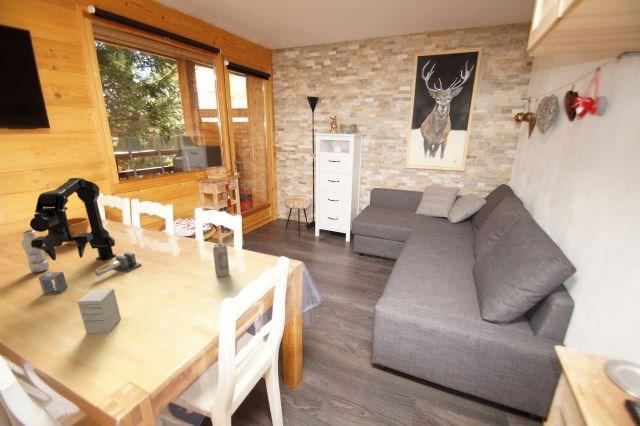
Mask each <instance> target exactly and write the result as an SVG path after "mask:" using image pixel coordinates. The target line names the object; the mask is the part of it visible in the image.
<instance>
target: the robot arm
mask: <svg viewBox="0 0 640 426" xmlns="http://www.w3.org/2000/svg"><path fill="white" fill-rule="evenodd" d="M74 193H76V195H77V197H78V199H79V200H80V201H82V202H83V204H84V206H85V207H84V208H85V211H86V214H87V219H88V221H89V226H90V230H91V231H90V232H87V233H80V234H79V235H78V236H72V235H73V232H72V233H71V231H70V227H69V226H71V224H70V223H68V219H69V218H68V217H67V212H66V210H68V209H69V207H66V204H67V203H68V202H69V197H71V195H73V194H74ZM99 197H100V187H99V185H98V184H96V183H95V182H93V181H89V180H87V179H84V178H82V177H70V178H68V180H67V181H66V182H64V183H63V184H61V185H59V187H57V188H55V189H52V190H48V191H45V192H41V193H40V194H39V196H38V198H37V201H36V207H35V210H34V213H35V214H34V213H33V216H34V217H33V218H32V219H31V220H30V223H29V226H30V228H31V230H34V232H35V231H36V232H38V233H39V232H40V233H44V232H46V231H47V232H48V233H47V234H46V235H43V236H42V235H40V236H37V238H36V239H34V240H32V241H31V246H32V248H35V247H37V249H41V250H43V252H45V253H46V254H47V256H49V258H51V260H52V261H56V260H57V255H56V249H55V248H59V247H61V246H62V244H63V243H67V242H68V241H75V242H76V243H77V244H76V245H75V247H77V251H78V256H79V258H80V259H82V258H83V256H84V253H85V249H86V246H87V244H88V243H89V245H90V247H91V249H92V250H95V249H96V250H97V253H98V254H97V255H98V256H97V257H95V259H96V260H100V261H107V260H109V259H111V258H115V257H117V254H114V251H113V247H114V246H115V245H116V241H115V239H114V238H113V237H112V236H111V235H110V232H109V231H108V230H107V229H105V227H104V224H103V221H102V220H103V219H102V217H101V211H100V208H99V204H98V198H99Z"/></svg>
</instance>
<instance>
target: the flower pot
mask: <svg viewBox="0 0 640 426" xmlns="http://www.w3.org/2000/svg"><path fill="white" fill-rule="evenodd" d="M67 219H68V223H70V224H71V226H69V227H70V231H71V233H72V232H73V235H72V236H78V235H79V234H80V233H88V231H89V230H88V228H89V226H90V223H89V219H88V217H73V218H67ZM66 243H67V245H70V246H71V245H72V246H74V245H75V246H76V244H77V243H76V242H75V241H68V242H66Z"/></svg>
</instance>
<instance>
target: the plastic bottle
mask: <svg viewBox="0 0 640 426" xmlns="http://www.w3.org/2000/svg"><path fill="white" fill-rule="evenodd" d="M22 236H23V237H24V238H23V239H22V241H21V247H22V248H23V251H25V254H26V257H27V260H28V268H29V269H28V270H30V273H33V274H36V273H37V274H38V273H41V272H45V271H47V270H48V269H49V267H50V263H49V261H48V260H47V259H46V255H45V253H44V250H41V249H37V247H35V248H32V246H31V241H32V240H34V239H36V238H37V237H38V236H36V232H35V230H33V229H28V230H25V231H22Z"/></svg>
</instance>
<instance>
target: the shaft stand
mask: <svg viewBox="0 0 640 426" xmlns="http://www.w3.org/2000/svg"><path fill="white" fill-rule="evenodd" d="M115 259H116V260H115V261H114V262H112V263H109V262H107V263H105V264H103V265H101V266H98V267H96V269H95V270H94V274H95V275H96V276H97V277H99V276H102V275H103V274H106V273H108V272H111V271H113V270H114V269H115V270H119V271H123V272H127V273H129V272H131V271H133V270H135V269H137V268H140V267H141V266H142V263H139V262H137V261H136V255H135V253H132V252H125V253H123V255H116V256H115Z"/></svg>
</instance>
